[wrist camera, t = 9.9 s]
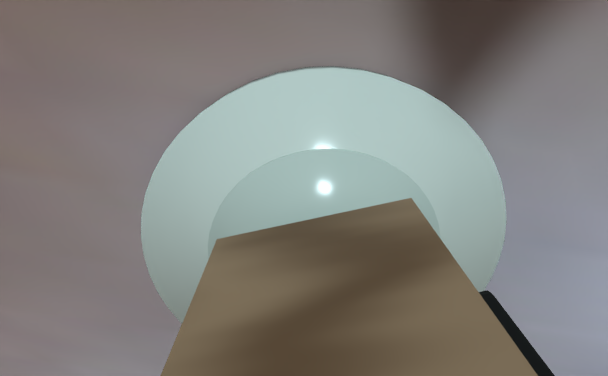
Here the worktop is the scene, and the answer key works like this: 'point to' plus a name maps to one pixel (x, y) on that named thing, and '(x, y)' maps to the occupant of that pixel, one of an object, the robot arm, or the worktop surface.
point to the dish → (318, 171)
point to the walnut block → (341, 304)
